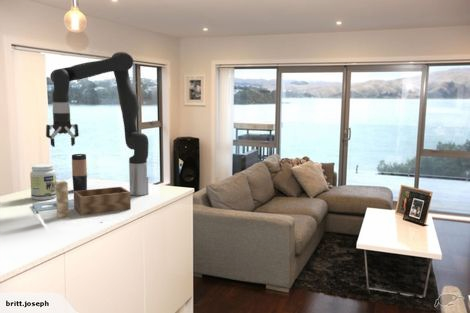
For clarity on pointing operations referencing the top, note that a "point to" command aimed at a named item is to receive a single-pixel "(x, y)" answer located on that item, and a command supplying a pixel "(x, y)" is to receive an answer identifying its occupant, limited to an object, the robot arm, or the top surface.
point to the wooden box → (101, 200)
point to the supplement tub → (43, 182)
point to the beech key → (62, 199)
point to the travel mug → (79, 172)
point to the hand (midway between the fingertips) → (63, 146)
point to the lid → (39, 205)
